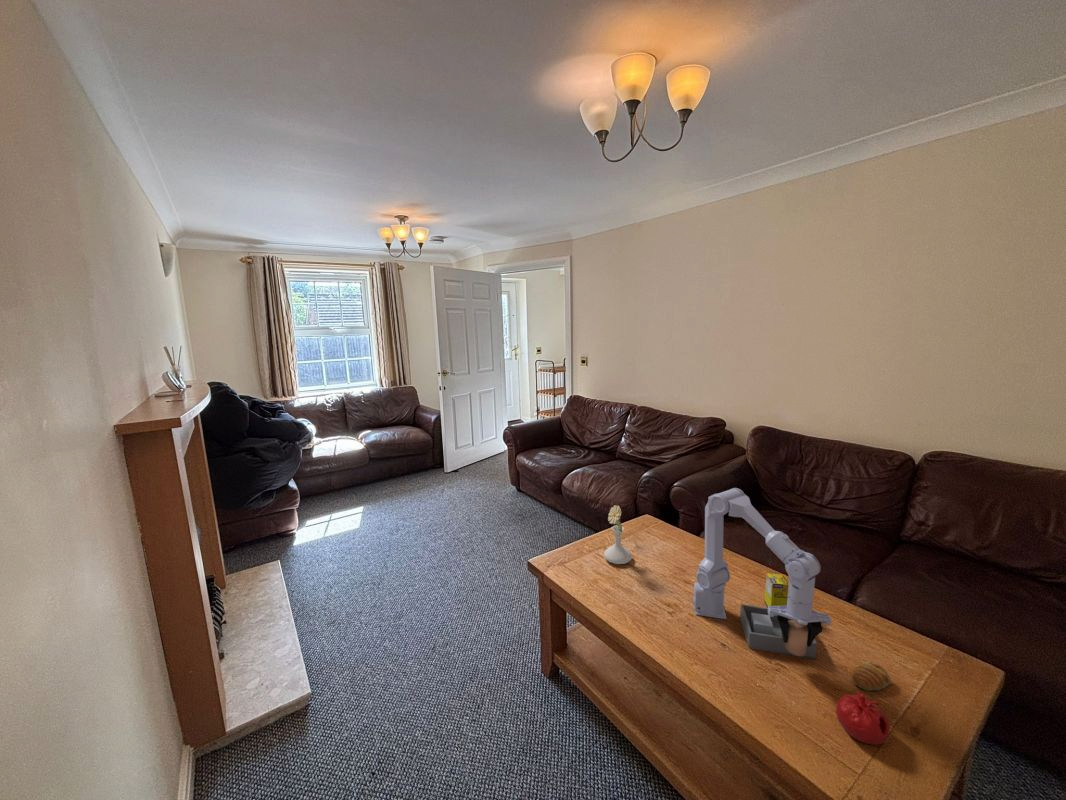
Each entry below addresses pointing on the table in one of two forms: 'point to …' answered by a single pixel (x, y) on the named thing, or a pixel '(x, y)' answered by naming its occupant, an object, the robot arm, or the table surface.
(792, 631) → the tan rounded cylinder
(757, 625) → the slate-blue block
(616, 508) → the flower in vase
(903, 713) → the table surface
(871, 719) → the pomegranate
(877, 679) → the pastry
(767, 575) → the supplement box
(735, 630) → the table surface
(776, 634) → the charcoal tote
